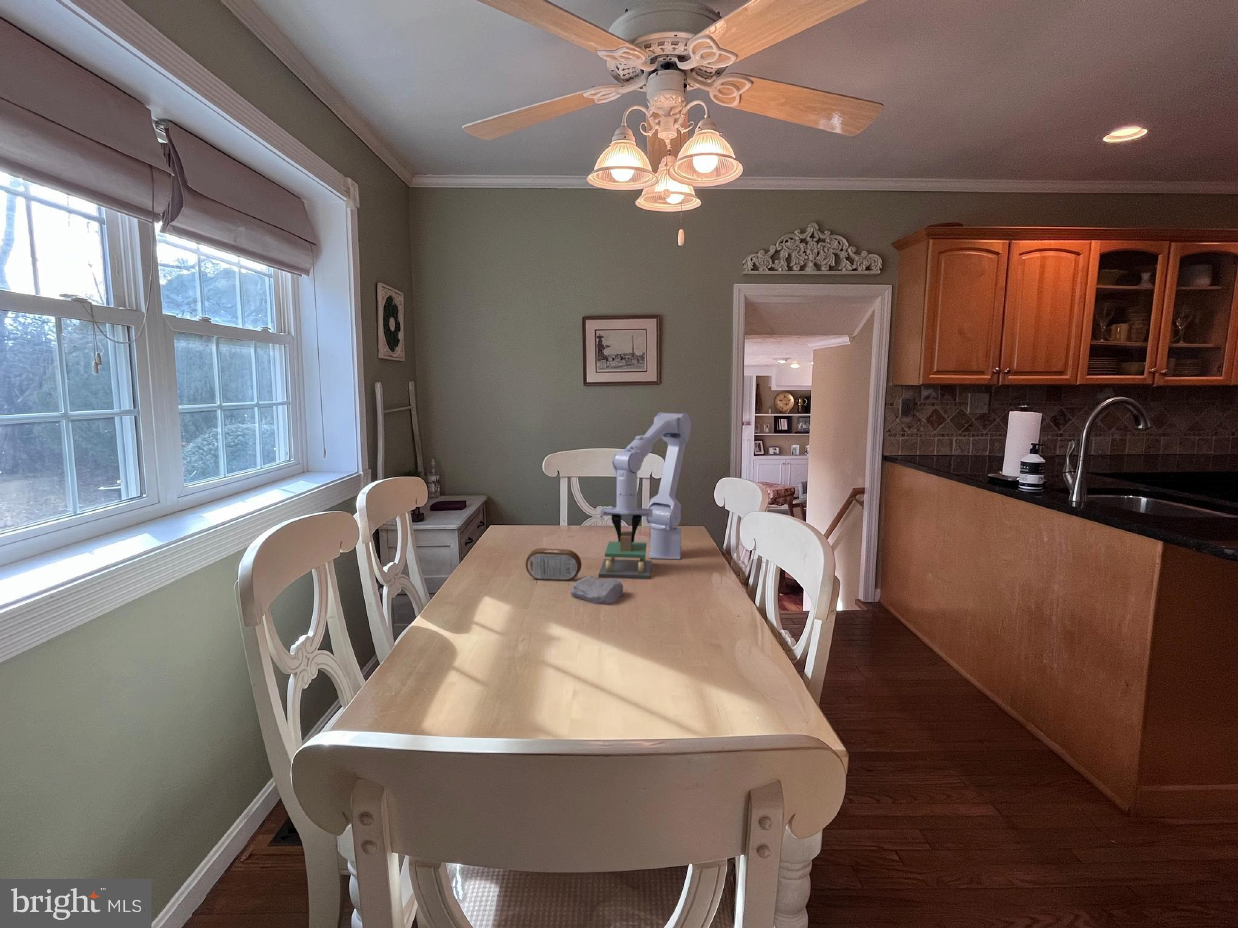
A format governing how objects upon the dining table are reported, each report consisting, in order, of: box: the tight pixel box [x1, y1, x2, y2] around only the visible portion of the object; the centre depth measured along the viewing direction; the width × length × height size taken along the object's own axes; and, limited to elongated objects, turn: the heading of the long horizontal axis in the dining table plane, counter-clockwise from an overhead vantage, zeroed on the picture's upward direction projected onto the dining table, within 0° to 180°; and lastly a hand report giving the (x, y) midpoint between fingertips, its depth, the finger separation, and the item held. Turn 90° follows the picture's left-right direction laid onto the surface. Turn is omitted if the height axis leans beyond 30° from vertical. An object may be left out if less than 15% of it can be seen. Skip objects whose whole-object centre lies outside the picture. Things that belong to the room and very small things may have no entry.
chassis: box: [598, 554, 653, 580], centre depth 174 cm, size 14×14×4 cm
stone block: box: [570, 575, 624, 605], centre depth 153 cm, size 12×5×10 cm
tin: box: [525, 547, 582, 582], centre depth 165 cm, size 15×3×8 cm, turn 84°
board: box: [604, 530, 648, 559], centre depth 173 cm, size 11×11×5 cm
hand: (626, 541), depth 173 cm, fingers closed on board, 3 cm apart
